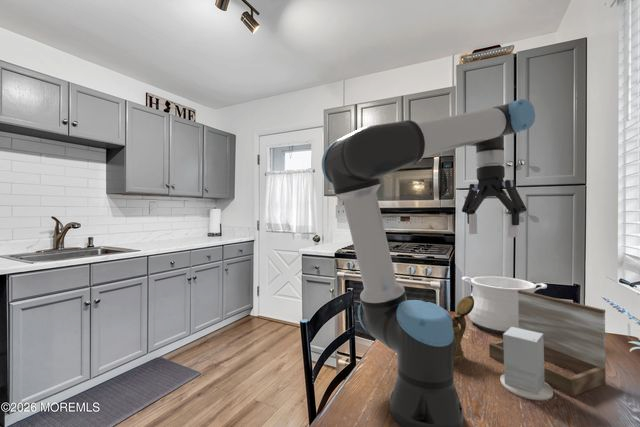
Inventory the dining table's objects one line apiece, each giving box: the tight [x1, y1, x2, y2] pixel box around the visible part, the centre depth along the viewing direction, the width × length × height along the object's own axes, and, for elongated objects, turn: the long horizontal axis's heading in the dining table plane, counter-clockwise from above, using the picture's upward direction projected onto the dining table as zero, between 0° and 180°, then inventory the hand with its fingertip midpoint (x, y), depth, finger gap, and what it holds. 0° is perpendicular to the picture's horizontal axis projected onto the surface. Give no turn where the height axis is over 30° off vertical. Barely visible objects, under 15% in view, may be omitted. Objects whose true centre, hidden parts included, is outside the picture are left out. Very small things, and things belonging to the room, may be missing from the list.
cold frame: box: [488, 290, 607, 397], centre depth 85 cm, size 14×22×19 cm, turn 22°
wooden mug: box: [452, 295, 474, 364], centre depth 94 cm, size 9×14×18 cm, turn 102°
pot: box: [461, 275, 548, 335], centre depth 118 cm, size 28×24×17 cm
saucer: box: [499, 373, 554, 402], centre depth 77 cm, size 11×11×1 cm
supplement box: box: [502, 327, 545, 395], centre depth 77 cm, size 7×7×13 cm
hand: (491, 235), depth 93 cm, fingers open, 13 cm apart
